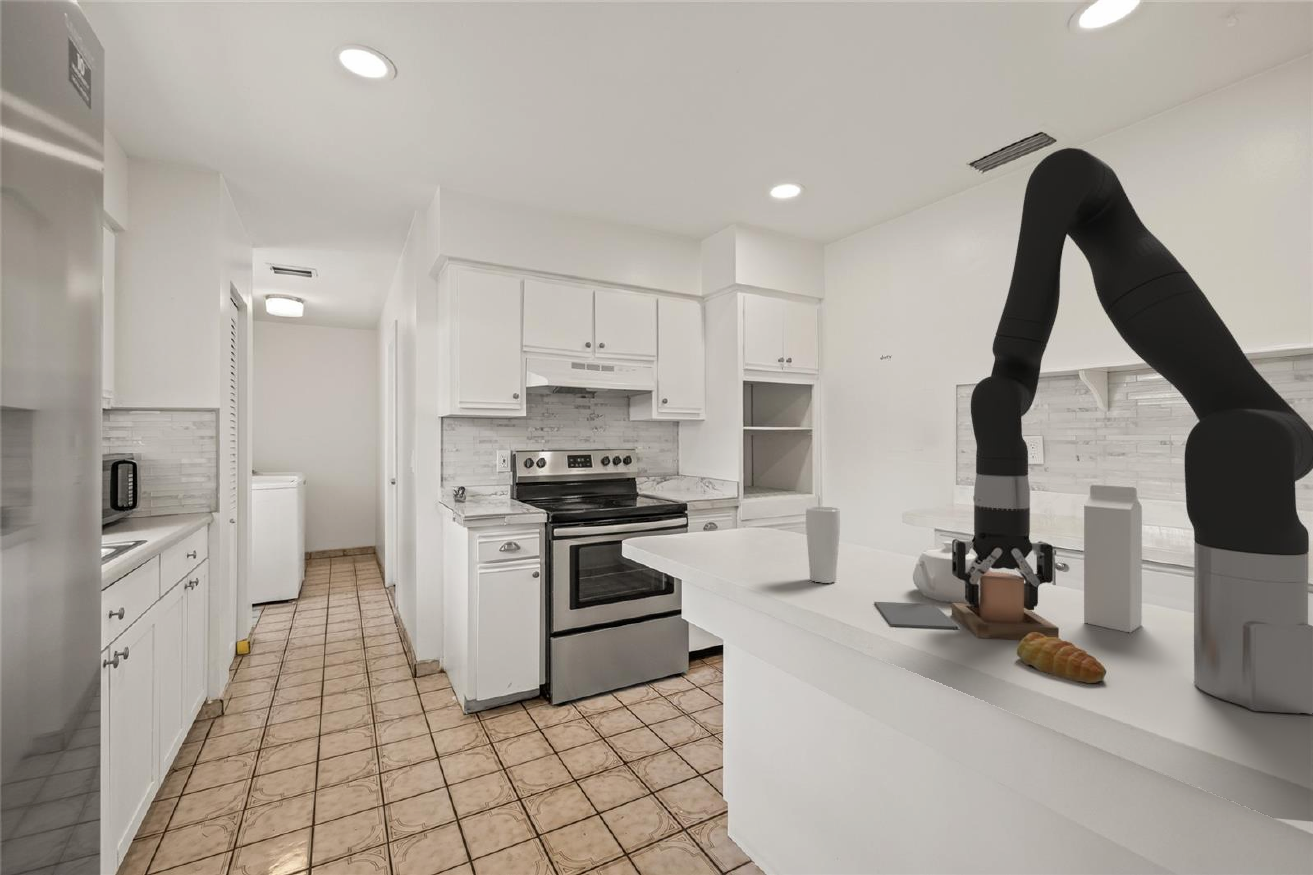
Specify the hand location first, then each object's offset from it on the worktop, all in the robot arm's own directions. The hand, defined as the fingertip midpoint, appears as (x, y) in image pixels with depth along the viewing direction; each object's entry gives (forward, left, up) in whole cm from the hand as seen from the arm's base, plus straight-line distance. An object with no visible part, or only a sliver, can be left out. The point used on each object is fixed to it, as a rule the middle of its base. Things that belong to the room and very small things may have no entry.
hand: (1001, 607), depth 90 cm
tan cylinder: (+2, 0, -3) cm, 3 cm away
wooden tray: (0, 0, -3) cm, 3 cm away
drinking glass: (+25, +24, -3) cm, 35 cm away
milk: (+4, -18, -3) cm, 19 cm away
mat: (+4, +12, -3) cm, 13 cm away
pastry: (-16, -1, -4) cm, 16 cm away
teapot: (+17, +2, -3) cm, 18 cm away
